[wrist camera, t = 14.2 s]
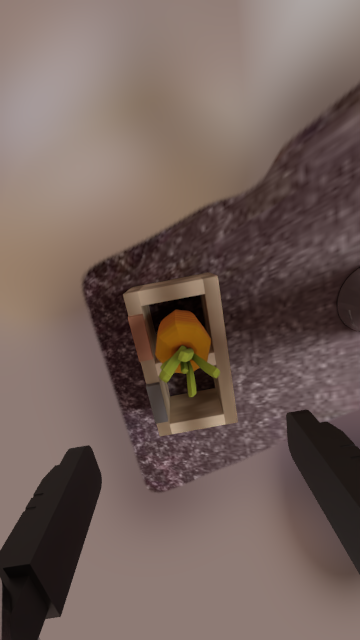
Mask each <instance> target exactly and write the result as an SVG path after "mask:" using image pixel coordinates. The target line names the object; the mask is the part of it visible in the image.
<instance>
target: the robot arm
mask: <svg viewBox="0 0 360 640" xmlns="http://www.w3.org/2000/svg"><path fill="white" fill-rule="evenodd" d="M338 313H339V316H340V318H341V320H342V321H343V322H344V323H345V324H346V326H348V327H350V328H351V329H353V330H356V331H358V332H360V268H359V269H357V270H356V271H355V272H353V273H352V274H351V275H350V276H349V277H348V279H347V280H346V281H345V283H344V284H343V286H342V288H341V290H340V293H339V297H338ZM286 419H287V436H288V446H289V450H290V453H291V456H292V458H293V460H294V462H295V464H296V465H297V467H298V469H299V471H300V472H301V474H302V476H303V477H304V479H305V481H306V483H307V484H308V486H309V488H310V490H311V491H312V493H313V495H314V496H315V498H316V500H317V502H318V503H319V505H320V507H321V509H322V510H323V512H324V514H325V515H326V517H327V519H328V521H329V522H330V524H331V526H332V528H333V529H334V531H335V533H336V534H337V536H338V538H339V539H340V541H341V543H342V545H343V546H344V548H345V550H346V552H347V553H348V555H349V557H350V559H351V560H352V562H353V564H354V565H355V567H356V569H357V571H358V572H359V574H360V449H359V448H358V447H356V446H355V444H354V443H353V442H352V441H351V440H350V439H349V438H348V437H347V436H346V435H345V433H344V432H343V431H341V430H340V429H338V428H336V427H335V426H333V425H332V424H330V423H328V422H321V423H320V422H319V421H318V420H317V419H316V418H315V417H314V416H313V414H312V413H311V412H310V411H309V410H301V411H295V412H289V413H287V415H286ZM101 484H102V477H101V472H100V469H99V467H98V464H97V461H96V459H95V456H94V453H93V451H92V448H91V447H90V446H83V447H76V448H71V449H69V450H68V451H67V452H66V454H65V456H64V458H63V459H62V461H61V463H60V465H57V466H55V467H54V468H53V469H52V470H51V471H50V472H49V473H48V474H47V475H46V476H45V477H44V478H43V479H42V481H41V483H40V485H39V486H38V488H37V490H36V491H35V493H34V497H33V498H31V500H30V502H29V503H28V505H27V507H26V510H25V511H24V512H23V513H22V515H21V517H20V518H19V520H18V522H17V523H16V525H15V527H14V529H13V530H12V532H11V534H10V535H9V537H8V539H7V540H6V542H5V544H4V545H3V547H2V549H1V550H0V640H40V638H39V635H40V632H41V629H42V626H43V623H44V621H45V619H48V618H55V617H60V616H61V614H62V610H63V607H64V604H65V601H66V598H67V595H68V592H69V589H70V585H71V582H72V579H73V576H74V573H75V569H76V566H77V563H78V560H79V557H80V554H81V551H82V548H83V544H84V541H85V538H86V535H87V532H88V528H89V525H90V522H91V519H92V516H93V513H94V510H95V506H96V503H97V500H98V497H99V494H100V490H101Z"/></svg>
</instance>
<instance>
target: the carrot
mask: <svg viewBox="0 0 360 640" xmlns="http://www.w3.org/2000/svg"><path fill="white" fill-rule="evenodd" d="M210 344H211V338H210V337H209V335H208V333H207V331H206V330H205V329H204V327H203V326H202V324H201V323H200V322H199V321H198V319H197V318H196V317H195V315H194V314H193V313H192V312H190V311H186V310H178V309H175V310H174V311H173V312H172V313H170V314H169V315H168V316H166V317H165V318H164V319H163V320H162V321H161V323H160V325H159V329H158V333H157V341H156V351H155V356H156V357H157V358H158V359H159V361H160V362H161V363H162V365H161V367H160V369H161V370H162V371H161V372H160V374H159V377H160V379H161V380H162V381H164V382H165V383H167V382H168V381H169V379H170V378H171V377H172V375H173V374H174V373H183V374H187V388H188V395H189V397H193V396H194V395H195V394H197V392H196V383H195V376H194V371H195V370H197V369H198V368H201V369H202V370H203V371H204V372H206V373H207V374H209V375H210V376H212V377H214V378H217V377H218V376H219V375H220V371H219V369H218V368H216V367H215V366H213V365H211V364H210V363H208V362H207V361H208V355H209V350H210Z"/></svg>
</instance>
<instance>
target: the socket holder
mask: <svg viewBox="0 0 360 640" xmlns="http://www.w3.org/2000/svg"><path fill="white" fill-rule="evenodd" d="M196 295H200V297H201V303H202V310H203V316H204V322H205V328H206V331H207V333H208V335H209V337H210V338H211V344H210V350H209V355H208V361H207V362H208V363H210V364H211V365H213V366H215V367H216V368H218V369H219V371H220V375H219V376H218V377H217V378H214V383H215V388H212V389H207V390H202V391H196V392H197V394H195V395H194V396H193V397H189V395H188V393H185V394H180V395H174V396H170V394H169V390H168V386H167V383H165V382H164V381H162V380H161V379H160V377H159V374H160V372H161V371H162V370H161V369H160V367H161V365H162V363H161V362H160V361H159V359H158V358H157V357H156V356H155V351H156V341H157V338H156V334H155V329H154V325H153V321H152V316H151V312H150V308H149V304H154V303H160V302H165V301H170V300H175V299H181V298H186V297H191V296H196ZM123 297H124V301H125V304H126V308H127V312H128V321H129V325H130V328H131V332H132V336H133V340H134V344H135V347H136V351H137V355H138V359H139V362H141V366H142V370H143V373H144V377H145V381H146V389H147V393H148V397H149V401H150V404H151V408H152V412H153V416H154V420H155V424H157V427H158V431H159V435H160V436H164V435H170V434H175V433H181V432H186V431H192V430H197V429H203V428H209V427H214V426H220V425H225V424H231V423H236V422H238V420H237V413H236V406H235V398H234V391H233V384H232V377H231V369H230V362H229V355H228V347H227V340H226V333H225V326H224V318H223V311H222V304H221V296H220V289H219V282H218V276H216V275H214V274H211V273H209V272H208V273H203V274H198V275H193V276H188V277H183V278H177V279H172V280H167V281H162V282H157V283H151V284H146V285H141V286H136V287H132V288H131V289H129V290H128V291H127V292H125V293H124V294H123Z"/></svg>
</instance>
